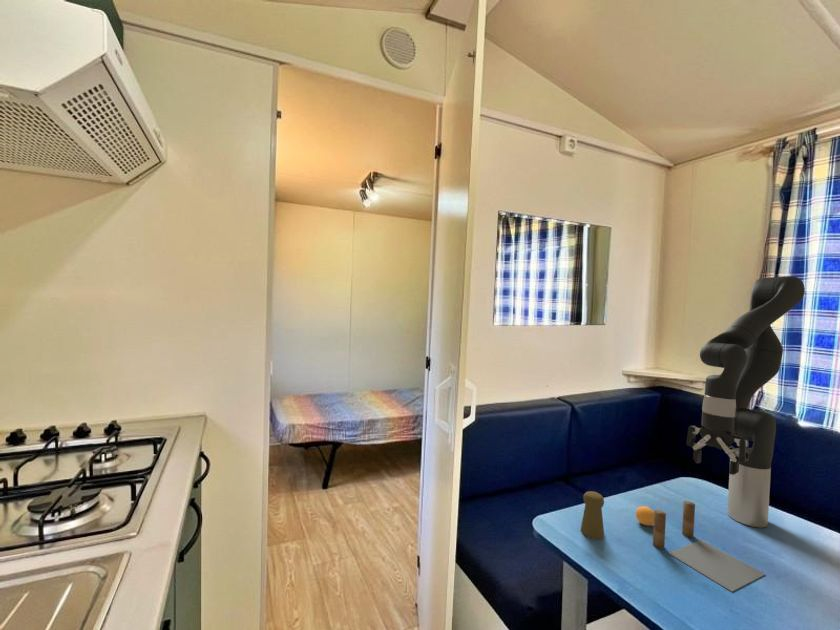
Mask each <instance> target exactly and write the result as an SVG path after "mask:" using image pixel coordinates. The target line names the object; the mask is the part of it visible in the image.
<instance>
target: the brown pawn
mask: <svg viewBox="0 0 840 630" xmlns="http://www.w3.org/2000/svg"><path fill="white" fill-rule="evenodd" d="M583 503H584V504H585V505H584V510H583V515H582V520H581V525H580V532H581V534H583V535H584V536H585V537H587V538H589V539H592V540H593V539H594V540H602V539H603V538H604V537H605V529H604V519H603V508H604V505H605V500H604V497H603V495H602V494H600V493H598V492H597V491H591V490H590V491H589V490H588V491H585V493H584V494H583Z"/></svg>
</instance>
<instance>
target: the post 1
mask: <svg viewBox="0 0 840 630" xmlns="http://www.w3.org/2000/svg"><path fill="white" fill-rule="evenodd" d="M653 512H654V524H653V532H652V533H653V534H652V545H653V547H654V548H657V549H659V550H663V549H665V542H666V523H667V522H666V521H667V519H666V518H667V514H666V512H665V511H663V510H659V509H654V510H653Z"/></svg>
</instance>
